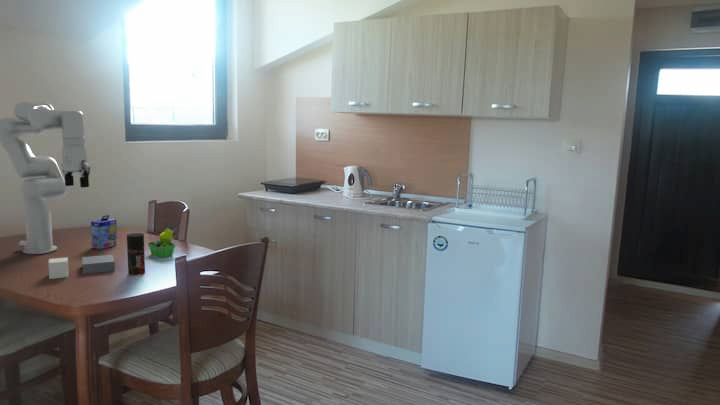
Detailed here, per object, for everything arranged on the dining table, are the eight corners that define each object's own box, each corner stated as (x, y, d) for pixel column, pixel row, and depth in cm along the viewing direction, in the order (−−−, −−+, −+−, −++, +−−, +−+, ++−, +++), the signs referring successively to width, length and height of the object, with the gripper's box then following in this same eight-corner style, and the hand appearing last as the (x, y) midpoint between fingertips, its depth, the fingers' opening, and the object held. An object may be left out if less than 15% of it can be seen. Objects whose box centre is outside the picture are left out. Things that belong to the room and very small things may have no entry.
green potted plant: (147, 254, 229) (146, 228, 227) (166, 250, 235) (165, 226, 233) (159, 259, 221) (158, 233, 219) (179, 255, 227) (178, 230, 226)
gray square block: (82, 274, 199) (82, 264, 198) (82, 267, 208) (82, 257, 207) (115, 271, 204) (114, 261, 203) (113, 264, 213) (112, 254, 213)
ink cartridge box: (100, 249, 233) (98, 217, 231) (91, 248, 235) (89, 216, 233) (118, 244, 242) (116, 214, 240) (109, 243, 244) (107, 212, 242)
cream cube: (49, 279, 191) (48, 263, 190) (50, 274, 197) (49, 258, 196) (68, 277, 194) (67, 261, 193) (68, 272, 199) (67, 257, 198)
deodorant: (134, 276, 197) (133, 237, 195) (124, 273, 200) (123, 235, 198) (148, 272, 202) (147, 234, 200) (138, 269, 205) (137, 232, 203)
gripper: (51, 142, 206) (54, 186, 208) (78, 143, 198) (81, 188, 200) (69, 142, 212) (72, 184, 215) (96, 142, 204) (99, 186, 206)
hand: (77, 186), depth 207 cm, fingers open, 9 cm apart
